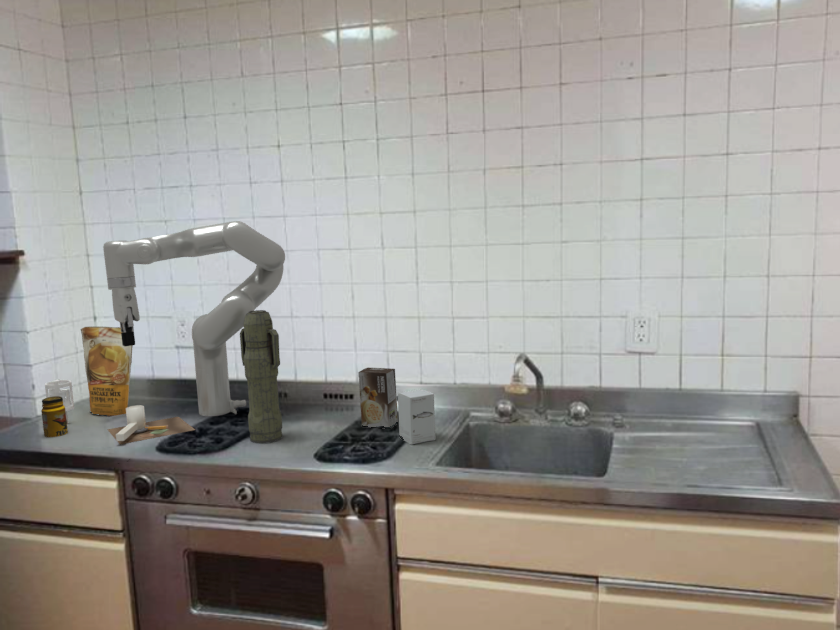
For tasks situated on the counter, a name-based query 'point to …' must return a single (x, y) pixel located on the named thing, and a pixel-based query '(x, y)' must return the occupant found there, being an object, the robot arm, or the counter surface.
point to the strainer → (61, 392)
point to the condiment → (54, 417)
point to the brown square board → (156, 430)
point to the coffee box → (378, 397)
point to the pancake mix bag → (107, 369)
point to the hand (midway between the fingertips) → (129, 345)
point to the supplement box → (416, 416)
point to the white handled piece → (135, 423)
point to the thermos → (261, 376)
